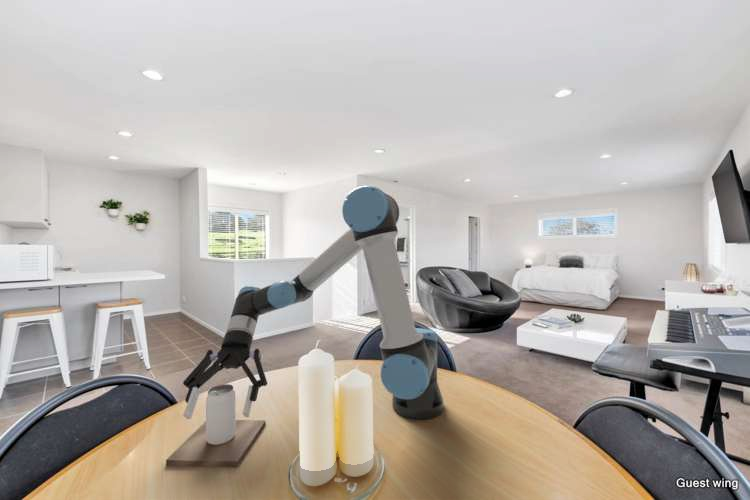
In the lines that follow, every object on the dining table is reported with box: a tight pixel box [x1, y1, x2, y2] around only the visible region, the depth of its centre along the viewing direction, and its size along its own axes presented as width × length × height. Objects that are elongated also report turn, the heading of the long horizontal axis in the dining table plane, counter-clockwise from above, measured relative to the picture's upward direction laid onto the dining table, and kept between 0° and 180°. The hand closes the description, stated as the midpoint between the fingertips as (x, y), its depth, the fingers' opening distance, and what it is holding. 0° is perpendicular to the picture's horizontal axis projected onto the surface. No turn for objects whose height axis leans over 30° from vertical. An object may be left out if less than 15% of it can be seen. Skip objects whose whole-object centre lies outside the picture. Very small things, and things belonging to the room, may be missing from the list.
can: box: [205, 383, 237, 445], centre depth 77 cm, size 6×6×12 cm
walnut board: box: [165, 419, 266, 468], centre depth 77 cm, size 16×16×1 cm
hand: (216, 416), depth 74 cm, fingers open, 13 cm apart
